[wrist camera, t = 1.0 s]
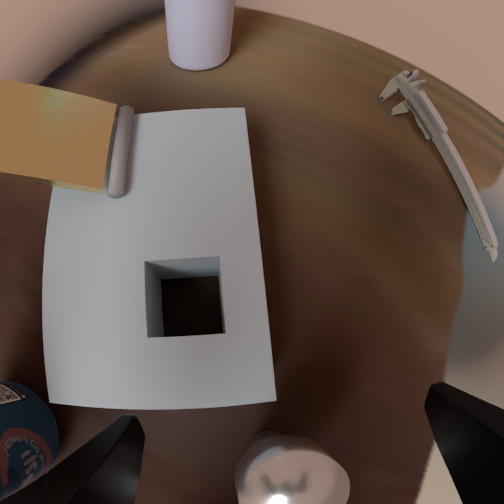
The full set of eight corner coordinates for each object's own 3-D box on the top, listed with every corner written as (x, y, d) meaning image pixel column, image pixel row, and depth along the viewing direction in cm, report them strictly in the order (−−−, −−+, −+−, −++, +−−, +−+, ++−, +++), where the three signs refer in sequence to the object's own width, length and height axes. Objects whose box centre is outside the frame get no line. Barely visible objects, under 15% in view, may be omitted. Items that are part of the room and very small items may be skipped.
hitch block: (261, 385, 18) (280, 404, 13) (84, 390, 17) (40, 405, 11) (238, 150, 23) (246, 97, 17) (89, 163, 21) (61, 117, 15)
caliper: (375, 101, 27) (401, 60, 21) (381, 98, 27) (407, 59, 21) (491, 262, 24) (535, 245, 18) (494, 257, 24) (538, 239, 18)
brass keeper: (100, 194, 15) (103, 189, 14) (-76, 167, 7) (-79, 161, 7) (113, 110, 16) (116, 104, 16) (-37, 81, 9) (-37, 74, 8)
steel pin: (306, 470, 17) (349, 523, 10) (234, 481, 16) (245, 545, 9) (301, 407, 18) (349, 443, 11) (225, 418, 18) (233, 464, 10)
